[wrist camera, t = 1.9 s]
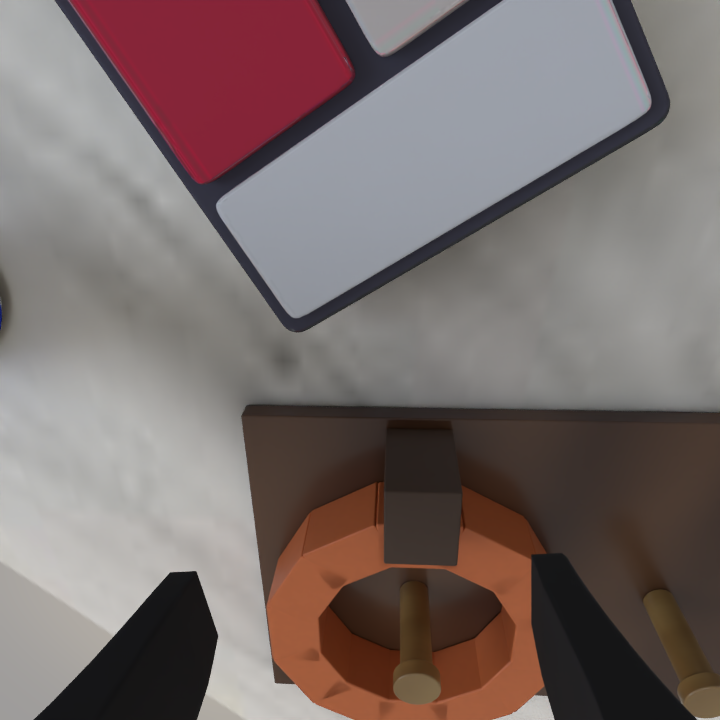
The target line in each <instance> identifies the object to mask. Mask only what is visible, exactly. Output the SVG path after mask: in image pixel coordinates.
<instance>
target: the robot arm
mask: <svg viewBox="0 0 720 720" xmlns="http://www.w3.org/2000/svg"><path fill="white" fill-rule="evenodd" d="M531 625H532V630H533V635H534V641H535V646H536V651H537V656H538V661H539V666H540V670H541V675H542V679H543V682H544V686H545V689H546V692H547V695H548V699H549V702H550V705H551V709H552V712H553V715H554V719H555V720H697V719H696V718H695V717H694V716H693V715H692V714H691V713H690V712H689V711H688V710H687V709H686V707H685V706H684V705H683V704H682V703H681V702H680V701H679V700H678V699H677V698H676V697H675V696H674V695H673V693H672V692H671V691H670V690H669V689H668V688H667V687H666V686H665V685H664V683H663V682H662V681H661V680H660V679H659V678H658V677H657V676H656V674H655V673H654V672H653V671H652V670H651V669H650V668H649V666H648V665H647V664H646V663H645V662H644V660H643V659H642V658H641V657H640V656H639V655H638V653H637V652H636V651H635V650H634V649H633V647H632V646H631V645H630V644H629V642H628V641H627V640H626V639H625V637H624V636H623V635H622V634H621V632H620V631H619V630H618V628H617V627H616V626H615V625H614V623H613V622H612V621H611V620H610V618H609V617H608V616H607V614H606V613H605V612H604V610H603V609H602V608H601V606H600V605H599V604H598V602H597V601H596V599H595V598H594V597H593V595H592V594H591V593H590V591H589V590H588V588H587V587H586V585H585V584H584V582H583V581H582V580H581V578H580V577H579V575H578V574H577V572H576V570H575V569H574V567H573V566H572V564H571V563H570V561H569V559H568V558H567V557H566V556H565V555H564V554H563V553H551V554H531ZM217 639H218V634H217V631H216V628H215V625H214V622H213V619H212V616H211V613H210V610H209V607H208V604H207V601H206V598H205V595H204V592H203V589H202V586H201V584H200V581H199V578H198V575H197V572H196V571H192V572H172V573H169V574H168V575H167V577H166V578H165V579H164V580H163V581H162V582H161V583H160V584H159V586H158V587H157V588H156V589H155V590H154V591H153V592H152V594H151V595H150V596H149V597H148V598H147V599H146V600H145V602H144V603H143V604H142V605H141V606H140V607H139V608H138V610H137V611H136V612H135V613H134V614H133V615H132V616H131V618H130V619H129V620H128V621H127V622H126V623H125V624H124V626H123V627H122V628H121V629H120V630H119V631H118V632H117V634H116V635H115V636H114V637H113V638H112V639H111V640H110V641H109V642H108V644H107V645H106V646H105V647H104V648H103V649H102V650H101V651H100V652H99V654H98V655H97V656H96V657H95V658H94V659H93V660H92V661H91V662H90V664H89V665H87V666H86V668H85V669H84V670H83V671H82V672H81V673H80V674H79V675H78V676H77V677H76V678H75V679H74V680H73V681H72V682H71V683H70V684H69V685H68V686H67V687H66V688H65V689H64V690H63V691H62V692H61V693H60V694H59V696H58V697H57V698H56V699H55V700H54V701H53V702H52V703H51V704H50V705H49V706H47V707H46V708H45V710H43V711H42V712H41V713H40V714H39V715H38V716H37V717H36V718H35V719H34V720H197V717H198V714H199V711H200V708H201V705H202V702H203V699H204V696H205V693H206V690H207V686H208V683H209V678H210V674H211V669H212V665H213V660H214V655H215V650H216V644H217Z"/></svg>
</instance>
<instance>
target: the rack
mask: <svg viewBox="0 0 720 720" xmlns="http://www.w3.org/2000/svg"><path fill="white" fill-rule="evenodd" d="M241 417H242V425H243V433H244V441H245V449H246V457H247V465H248V473H249V481H250V489H251V497H252V505H253V513H254V520H255V528H256V536H257V544H258V552H259V560H260V568H261V576H262V584H263V592H264V600H265V608H266V606H267V602H268V598H269V594H270V590H271V586H272V582H273V578H274V574H275V570H276V566H277V562H278V559H279V557H280V556H281V554H282V553H283V551H284V550H285V548H286V547H287V545H288V544H289V542H290V541H291V540H292V538H293V537H294V535H295V534H296V532H297V531H298V529H299V528H300V526H301V525H302V523H303V522H304V520H305V519H306V517H307V516H308V514H309V513H310V512H312V510H314V509H317V508H319V507H321V506H323V505H326V504H328V503H330V502H332V501H335V500H337V499H339V498H342V497H344V496H346V495H348V494H351V493H353V492H355V491H357V490H360V489H362V488H364V487H366V486H369V485H371V484H373V483H375V482H377V483H379V482H384V474H385V446H386V429H388V428H392V429H447V430H453V435H454V441H455V448H456V454H457V460H458V467H459V473H460V480H461V485H462V486H464V487H466V488H468V489H470V490H472V491H474V492H476V493H478V494H480V495H482V496H484V497H486V498H488V499H490V500H492V501H494V502H496V503H498V504H500V505H502V506H504V507H506V508H508V509H510V510H512V511H514V512H516V513H518V514H520V515H522V516H524V518H525V519H526V520H527V521H528V523H529V525H530V526H531V528H532V530H533V531H534V533H535V535H536V536H537V538H538V540H539V541H540V543H541V544H542V546H543V548H544V549H545V551H546V553H547V554H551V553H563V554H564V555H565V556H566V557H567V558H568V559H569V561H570V563H571V564H572V566H573V567H574V569H575V570H576V572H577V574H578V575H579V577H580V578H581V580H582V581H583V582H584V584H585V585H586V587H587V588H588V590H589V591H590V593H591V594H592V595H593V597H594V598H595V599H596V601H597V602H598V604H599V605H600V606H601V608H602V609H603V610H604V612H605V613H606V614H607V616H608V617H609V618H610V620H611V621H612V622H613V623H614V625H615V626H616V627H617V628H618V630H619V631H620V632H621V634H622V635H623V636H624V637H625V639H626V640H627V641H628V642H629V644H630V645H631V646H632V647H633V649H634V650H635V651H636V652H637V653H638V655H639V656H640V657H641V658H642V659H643V660H644V662H645V663H646V664H647V665H648V666H649V668H650V669H651V670H652V671H653V672H654V673H655V674H656V676H657V677H658V678H659V679H660V680H661V681H662V682H663V683H664V685H665V686H666V687H667V688H668V689H669V690H670V691H671V692H672V693H673V695H674V696H675V697H676V698H677V699H678V700H679V701H680V702H681V703H682V704H683V705H684V706H685V707H686V709H687V710H688V711H689V712H690V713H691V714H692V715H693V716H695V717H699V718H714V717H718V716H720V413H697V412H634V411H571V410H508V409H445V408H382V407H319V406H256V405H247V406H246V407H245V409H244V412H243V414H242V416H241ZM328 606H329V607H330V608H331V609H332V611H333V612H334V613H335V614H336V615H337V617H338V618H339V619H340V620H341V621H342V622H343V624H344V625H345V626H346V627H347V628H348V630H349V631H350V632H351V633H352V634H354V635H357V636H359V637H361V638H364V639H366V640H368V641H370V642H373V643H375V644H377V645H380V646H382V647H384V648H387V649H389V650H400V664H399V665H398V666H397V667H396V668H395V670H394V672H393V690H394V693H395V695H396V696H397V697H398V698H399V699H400V700H402V701H404V702H406V703H409V704H415V705H421V704H427V703H430V702H432V701H434V700H435V699H437V698H438V697H439V695H440V692H441V679H440V672H439V670H438V669H437V667H436V666H435V665H433V662H432V652H436V651H439V650H441V649H444V648H447V647H450V646H453V645H456V644H459V643H462V642H465V641H468V640H471V639H474V638H476V637H477V636H478V635H479V634H480V633H481V632H482V631H483V629H484V628H485V627H486V626H487V625H488V624H489V623H490V622H491V621H492V620H493V619H494V618H495V617H496V616H497V615H498V614H499V613H500V612H501V608H502V604H501V602H500V601H499V599H498V598H497V596H496V595H495V593H494V592H493V591H491V590H489V589H486V588H484V587H482V586H480V585H478V584H476V583H474V582H472V581H469V580H467V579H465V578H463V577H461V576H459V575H457V574H455V573H452V572H450V571H448V570H446V569H426V568H396V567H391V568H388V569H386V570H383V571H380V572H378V573H375V574H373V575H370V576H368V577H365V578H363V579H360V580H358V581H355V582H352V583H350V584H347V585H345V586H343V587H342V588H341V589H340V591H339V592H338V593H337V595H336V596H335V597H334V599H333V600H332V601H331V602H330V604H329V605H328ZM266 616H267V608H266ZM267 624H268V616H267ZM268 631H269V624H268ZM269 639H270V632H269ZM270 647H271V640H270ZM271 655H272V648H271ZM272 663H273V671H274V679H275V683H281V684H295V683H294V682H293V681H292V680H291V679H290V678H289V677H288V676H287V674H286V673H285V672H284V671H283V670H282V669H281V668H280V667H279V666H278V665H277V664H276V663H275V662H274V659H273V656H272ZM535 695H540V696H548V695H547V692H546V689H545V686H544V687H543V688H542V689H541V690H540V691H539V692H537V693H536V694H535Z"/></svg>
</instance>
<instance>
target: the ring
mask: <svg viewBox="0 0 720 720" xmlns="http://www.w3.org/2000/svg"><path fill="white" fill-rule="evenodd" d="M531 554H547V553H546V551H545V549H544V548H543V546H542V544H541V543H540V541H539V540H538V538H537V536H536V535H535V533H534V531H533V530H532V528H531V526H530V525H529V523H528V521H527V520H526V519H525V518H524V516H522V515H520V514H518V513H516V512H514V511H512V510H510V509H508V508H506V507H504V506H502V505H500V504H498V503H496V502H494V501H492V500H490V499H488V498H486V497H484V496H482V495H480V494H478V493H476V492H474V491H472V490H470V489H468V488H466V487H464V486H462V485H461V480H460V473H459V467H458V460H457V454H456V448H455V441H454V435H453V430H447V429H392V428H388V429H386V446H385V474H384V482H379V483H377V482H375V483H373V484H371V485H369V486H366V487H364V488H362V489H360V490H357V491H355V492H353V493H351V494H348V495H346V496H344V497H342V498H339V499H337V500H335V501H332V502H330V503H328V504H326V505H323V506H321V507H319V508H317V509H314V510H312V512H310V513H309V514H308V516H307V517H306V519H305V520H304V522H303V523H302V525H301V526H300V528H299V529H298V531H297V532H296V534H295V535H294V537H293V538H292V540H291V541H290V542H289V544H288V545H287V547H286V548H285V550H284V551H283V553H282V554H281V556H280V557H279V559H278V562H277V566H276V570H275V574H274V578H273V582H272V586H271V590H270V594H269V598H268V602H267V606H266V608H267V616H268V624H269V632H270V640H271V648H272V656H273V659H274V662H275V663H276V664H277V665H278V666H279V667H280V668H281V669H282V670H283V671H284V672H285V673H286V674H287V676H288V677H289V678H290V679H291V680H292V681H293V682H294V683H295V684H296V685H297V686H298V687H299V688H300V689H301V690H302V691H303V693H304V694H305V695H306V696H307V697H308V698H309V699H310V700H311V701H312V702H313V703H315V704H317V705H319V706H322V707H324V708H326V709H329V710H331V711H334V712H336V713H339V714H341V715H344V716H346V717H349V718H351V719H354V720H492V719H496V718H499V717H502V716H506V715H509V714H512V713H513V712H516V711H517V710H518V709H519V708H520V707H522V706H523V705H524V704H525V703H526V702H527V701H528V700H529V699H531V698H532V697H533V696H534V695H535V694H536V693H537V692H539V691H540V690H541V689H542V688H543V687H544V682H543V679H542V675H541V670H540V666H539V661H538V656H537V651H536V646H535V641H534V635H533V630H532V625H531ZM391 567H396V568H426V569H446V570H448V571H450V572H452V573H455V574H457V575H459V576H461V577H463V578H465V579H467V580H469V581H472V582H474V583H476V584H478V585H480V586H482V587H484V588H486V589H489V590H491V591H493V592H494V593H495V595H496V596H497V598H498V599H499V601H500V602H501V604H502V608H501V612H500V613H499V614H498V615H497V616H496V617H495V618H494V619H493V620H492V621H491V622H490V623H489V624H488V625H487V626H486V627H485V628H484V629H483V631H482V632H481V633H480V634H479V635H478V636H477V637H476V638H474V639H471V640H468V641H465V642H462V643H459V644H456V645H453V646H450V647H447V648H444V649H441V650H439V651H436V652H432V662H433V665H435V666H436V667H437V669H438V670H439V672H440V679H441V692H440V695H439V697H438V698H437V699H435V700H434V701H432V702H430V703H427V704H421V705H415V704H409V703H406V702H404V701H402V700H400V699H399V698H398V697H397V696H396V695H395V693H394V690H393V672H394V670H395V668H396V667H397V666H398V665H399V664H400V650H389V649H387V648H384V647H382V646H380V645H377V644H375V643H373V642H370V641H368V640H366V639H364V638H361V637H359V636H357V635H354V634H352V633H351V632H350V631H349V630H348V628H347V627H346V626H345V625H344V624H343V622H342V621H341V620H340V619H339V618H338V617H337V615H336V614H335V613H334V612H333V611H332V609H331V608H330V607H329V606H328V605H329V604H330V602H331V601H332V600H333V599H334V597H335V596H336V595H337V593H338V592H339V591H340V589H341V588H342V587H343V586H345V585H347V584H350V583H352V582H355V581H358V580H360V579H363V578H365V577H368V576H370V575H373V574H375V573H378V572H380V571H383V570H386V569H388V568H391Z"/></svg>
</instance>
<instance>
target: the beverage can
mask: <svg viewBox="0 0 720 720" xmlns="http://www.w3.org/2000/svg"><path fill="white" fill-rule="evenodd" d="M1 322H2V305H1V298H0V329H1Z"/></svg>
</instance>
